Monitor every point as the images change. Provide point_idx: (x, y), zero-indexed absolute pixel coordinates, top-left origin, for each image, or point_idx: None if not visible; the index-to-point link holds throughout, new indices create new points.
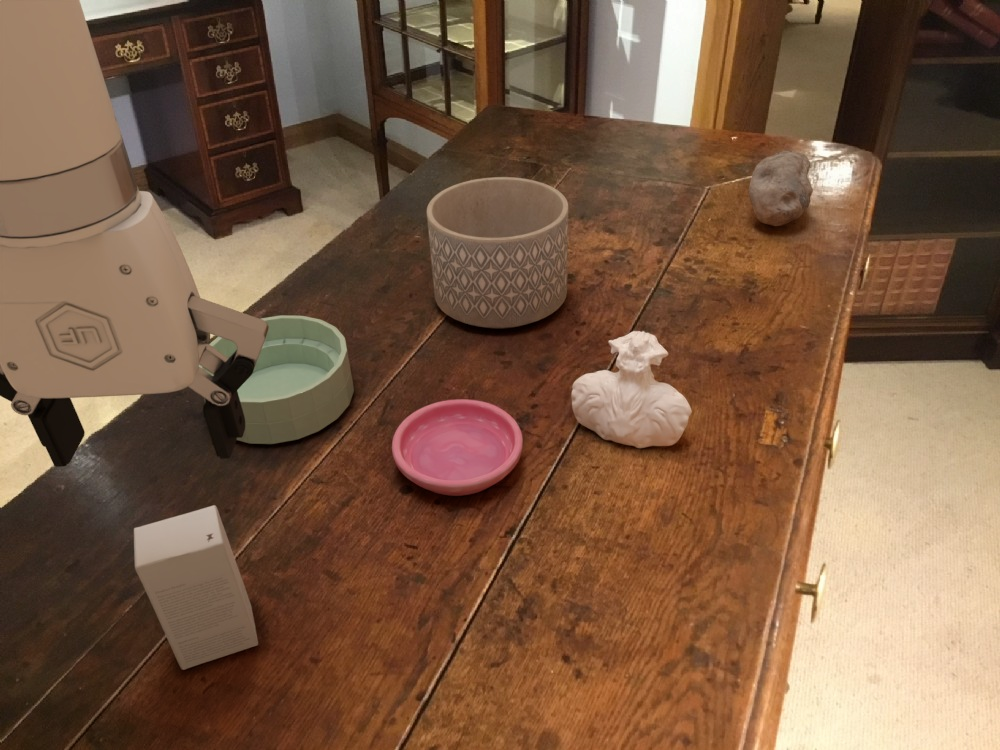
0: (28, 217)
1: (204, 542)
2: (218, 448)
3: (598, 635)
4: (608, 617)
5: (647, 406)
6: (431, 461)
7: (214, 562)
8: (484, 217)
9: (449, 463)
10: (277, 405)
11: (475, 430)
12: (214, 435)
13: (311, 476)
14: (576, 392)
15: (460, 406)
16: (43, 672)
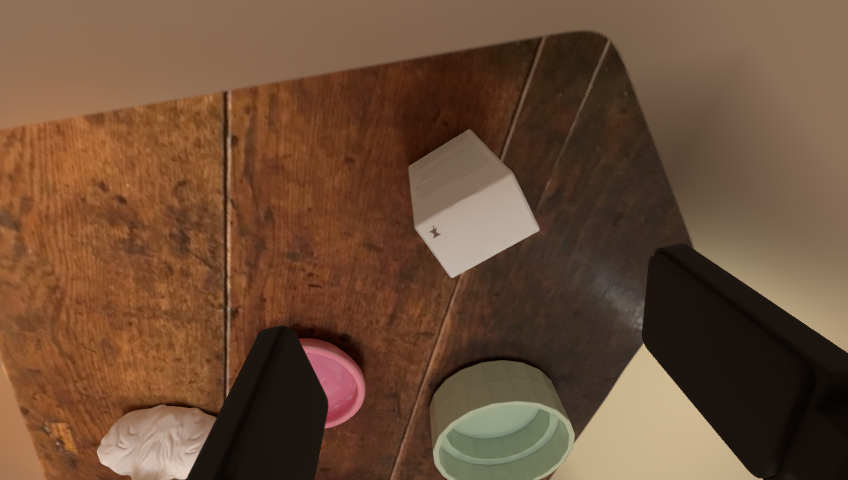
0: None
1: (438, 224)
2: (265, 349)
3: (105, 226)
4: (105, 245)
5: (135, 448)
6: (330, 367)
7: (426, 206)
8: None
9: (313, 367)
10: (477, 402)
11: None
12: (249, 386)
13: (435, 337)
14: None
15: None
16: (603, 105)
